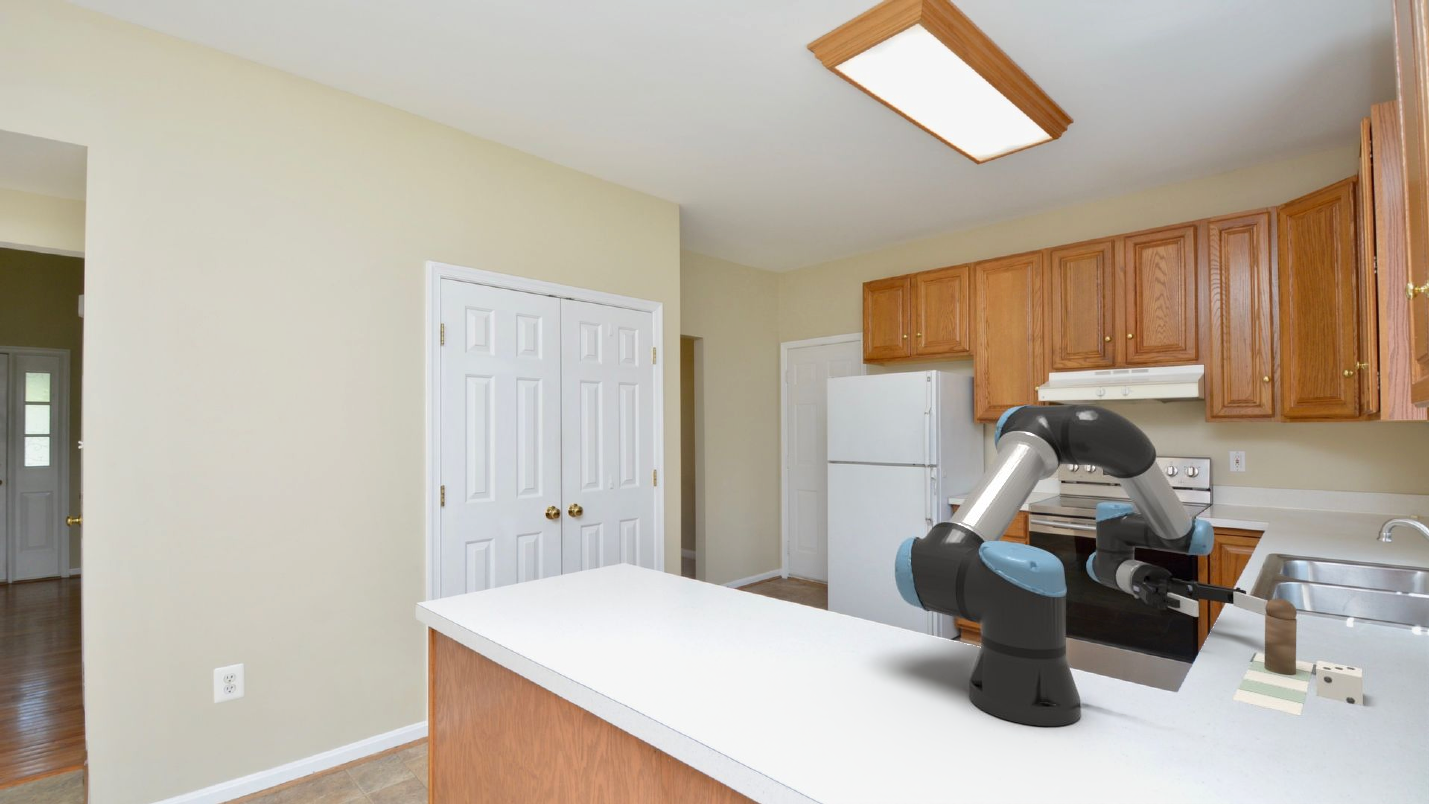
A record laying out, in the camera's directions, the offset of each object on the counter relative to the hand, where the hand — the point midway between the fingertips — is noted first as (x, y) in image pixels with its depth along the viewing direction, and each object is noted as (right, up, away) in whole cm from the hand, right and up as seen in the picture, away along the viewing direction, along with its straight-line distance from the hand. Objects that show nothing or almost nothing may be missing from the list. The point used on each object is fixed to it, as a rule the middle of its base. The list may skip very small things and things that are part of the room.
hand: (1231, 608), depth 119 cm
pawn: (+1, -7, -9) cm, 12 cm away
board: (-4, -8, -14) cm, 16 cm away
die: (+1, -8, -20) cm, 21 cm away
